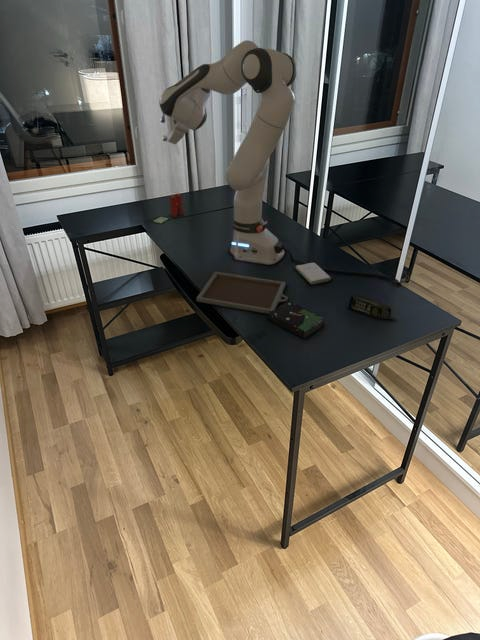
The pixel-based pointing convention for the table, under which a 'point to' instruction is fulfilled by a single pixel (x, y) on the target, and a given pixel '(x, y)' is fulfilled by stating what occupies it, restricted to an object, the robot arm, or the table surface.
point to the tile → (160, 219)
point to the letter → (176, 205)
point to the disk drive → (296, 319)
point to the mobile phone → (370, 307)
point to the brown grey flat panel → (243, 292)
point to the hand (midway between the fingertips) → (162, 130)
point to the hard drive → (313, 273)
